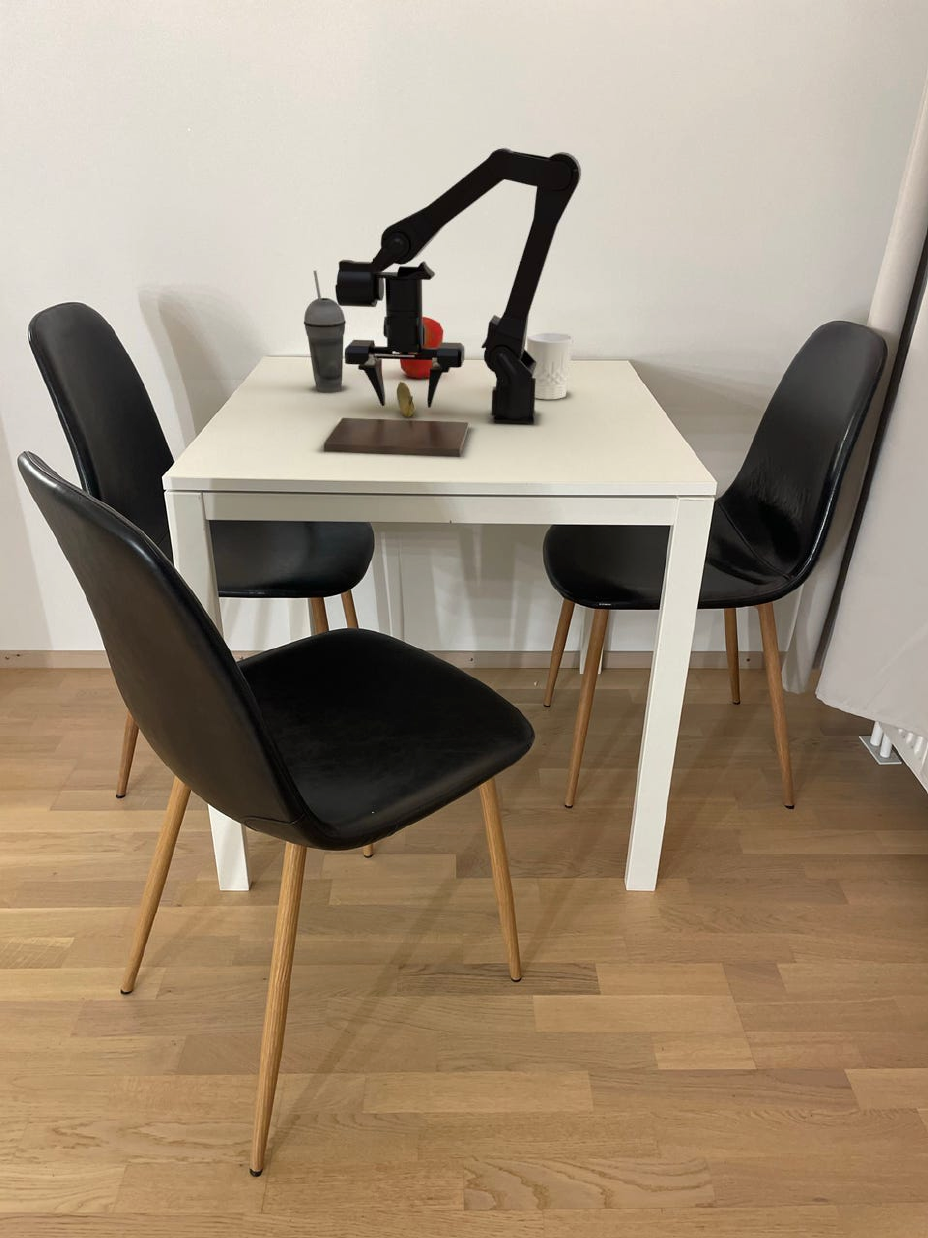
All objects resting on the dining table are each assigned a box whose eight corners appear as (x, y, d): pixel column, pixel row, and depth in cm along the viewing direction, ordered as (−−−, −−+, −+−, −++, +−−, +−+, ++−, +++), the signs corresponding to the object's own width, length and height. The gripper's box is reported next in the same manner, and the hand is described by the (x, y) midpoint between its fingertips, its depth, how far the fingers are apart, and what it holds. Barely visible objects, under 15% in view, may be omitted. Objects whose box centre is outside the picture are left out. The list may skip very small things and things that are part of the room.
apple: (388, 377, 173) (386, 312, 167) (413, 368, 179) (412, 305, 173) (426, 384, 169) (425, 317, 163) (451, 374, 175) (451, 310, 169)
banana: (395, 404, 157) (394, 380, 155) (409, 403, 157) (408, 380, 155) (403, 421, 148) (402, 396, 146) (418, 420, 149) (417, 396, 147)
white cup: (518, 397, 161) (520, 339, 156) (532, 386, 168) (535, 330, 163) (561, 402, 159) (565, 343, 154) (574, 391, 165) (578, 334, 160)
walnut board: (468, 429, 145) (468, 422, 144) (459, 456, 134) (460, 448, 133) (342, 424, 146) (342, 417, 146) (324, 451, 135) (323, 443, 135)
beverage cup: (342, 395, 162) (335, 274, 152) (302, 392, 163) (293, 273, 153) (354, 384, 168) (348, 268, 158) (316, 382, 169) (308, 266, 159)
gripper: (468, 300, 151) (467, 395, 159) (355, 297, 152) (360, 391, 160) (461, 313, 141) (460, 413, 149) (341, 310, 143) (346, 409, 150)
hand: (406, 406), depth 152 cm, fingers open, 7 cm apart
